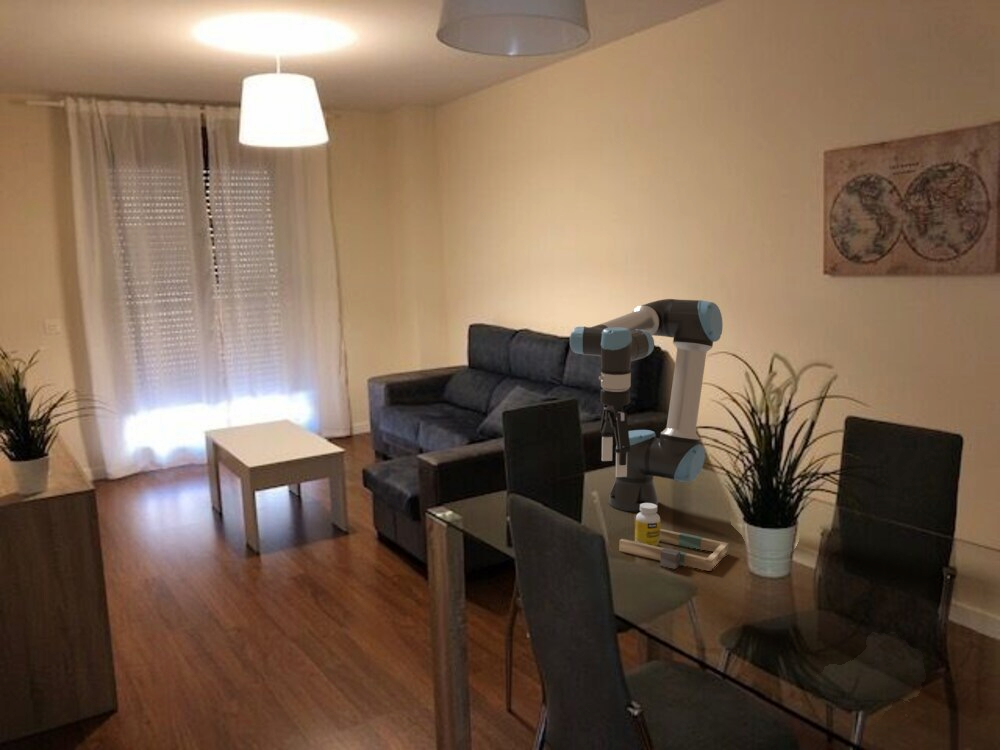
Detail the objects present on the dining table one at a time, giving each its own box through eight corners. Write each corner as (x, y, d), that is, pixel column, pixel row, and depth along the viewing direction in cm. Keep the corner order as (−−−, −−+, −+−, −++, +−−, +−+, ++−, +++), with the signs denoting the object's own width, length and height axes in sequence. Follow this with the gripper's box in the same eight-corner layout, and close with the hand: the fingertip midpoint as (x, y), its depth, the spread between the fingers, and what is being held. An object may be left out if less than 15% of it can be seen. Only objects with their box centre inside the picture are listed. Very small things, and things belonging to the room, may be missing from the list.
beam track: (640, 534, 230) (640, 521, 229) (727, 553, 217) (728, 539, 216) (613, 555, 215) (614, 540, 215) (706, 577, 202) (706, 562, 201)
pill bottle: (641, 552, 217) (642, 510, 215) (630, 543, 224) (632, 502, 221) (663, 549, 219) (665, 508, 217) (652, 541, 225) (654, 500, 223)
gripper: (589, 379, 220) (588, 455, 224) (614, 400, 196) (612, 484, 200) (616, 378, 221) (614, 453, 225) (644, 398, 197) (642, 482, 201)
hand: (613, 468), depth 212 cm, fingers open, 13 cm apart
